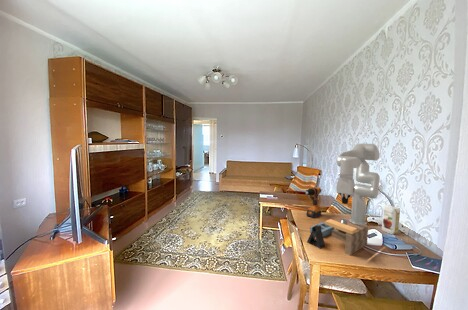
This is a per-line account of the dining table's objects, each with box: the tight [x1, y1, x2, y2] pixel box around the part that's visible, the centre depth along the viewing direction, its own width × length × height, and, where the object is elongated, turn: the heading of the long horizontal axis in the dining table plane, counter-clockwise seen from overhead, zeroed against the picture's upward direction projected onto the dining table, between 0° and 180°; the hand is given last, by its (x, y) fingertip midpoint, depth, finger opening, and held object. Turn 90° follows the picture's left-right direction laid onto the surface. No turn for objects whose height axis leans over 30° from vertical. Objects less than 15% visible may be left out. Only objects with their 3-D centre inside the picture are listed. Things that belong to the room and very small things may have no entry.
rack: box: [309, 221, 336, 238], centre depth 139 cm, size 16×9×5 cm, turn 125°
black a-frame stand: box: [306, 224, 326, 249], centre depth 125 cm, size 9×6×12 cm, turn 37°
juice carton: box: [381, 204, 401, 235], centre depth 143 cm, size 8×9×19 cm
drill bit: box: [339, 218, 348, 234], centre depth 132 cm, size 4×4×12 cm
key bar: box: [324, 218, 357, 234], centre depth 119 cm, size 6×16×2 cm, turn 35°
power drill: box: [304, 186, 322, 219], centre depth 171 cm, size 22×7×25 cm, turn 129°
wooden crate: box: [331, 224, 369, 256], centre depth 125 cm, size 23×18×13 cm
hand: (344, 203), depth 130 cm, fingers closed
